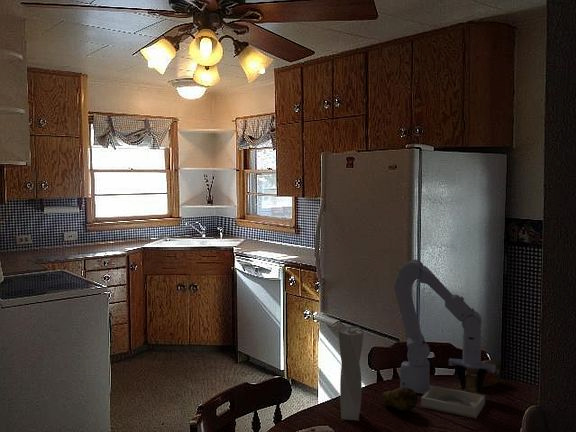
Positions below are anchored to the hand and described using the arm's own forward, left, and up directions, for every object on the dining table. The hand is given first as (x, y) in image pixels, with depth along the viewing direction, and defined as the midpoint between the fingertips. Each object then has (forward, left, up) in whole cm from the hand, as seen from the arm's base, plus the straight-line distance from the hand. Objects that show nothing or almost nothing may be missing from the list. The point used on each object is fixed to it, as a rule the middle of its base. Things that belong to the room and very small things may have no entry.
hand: (471, 390), depth 176 cm
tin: (+1, +14, -2) cm, 14 cm away
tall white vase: (-27, -36, -2) cm, 45 cm away
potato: (-16, -24, -2) cm, 29 cm away
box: (-3, -11, -2) cm, 12 cm away
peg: (0, 0, -2) cm, 2 cm away
